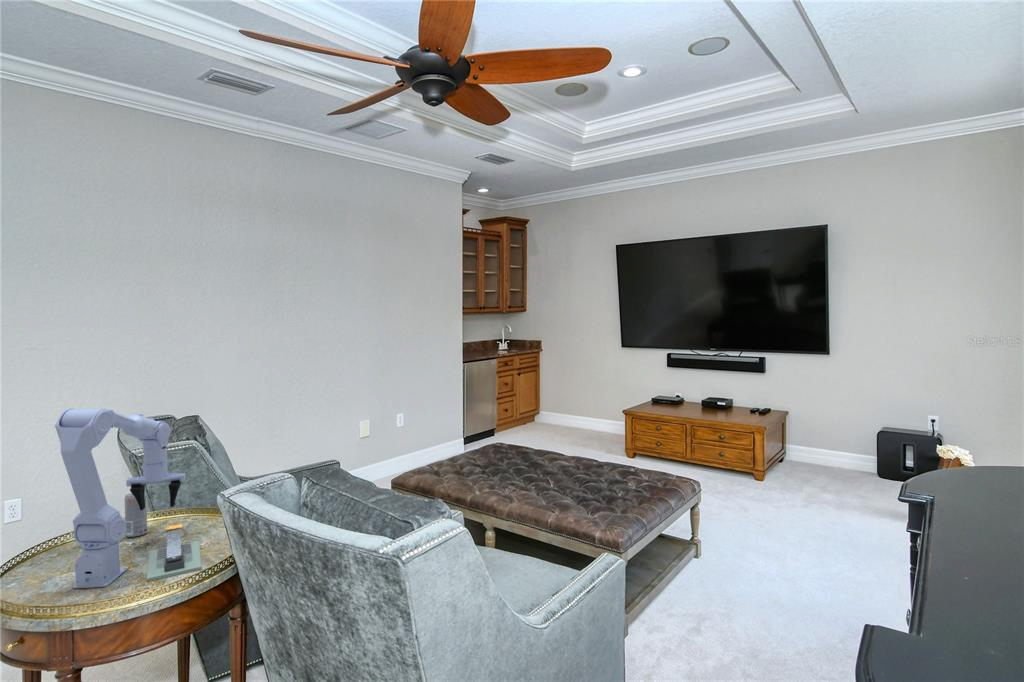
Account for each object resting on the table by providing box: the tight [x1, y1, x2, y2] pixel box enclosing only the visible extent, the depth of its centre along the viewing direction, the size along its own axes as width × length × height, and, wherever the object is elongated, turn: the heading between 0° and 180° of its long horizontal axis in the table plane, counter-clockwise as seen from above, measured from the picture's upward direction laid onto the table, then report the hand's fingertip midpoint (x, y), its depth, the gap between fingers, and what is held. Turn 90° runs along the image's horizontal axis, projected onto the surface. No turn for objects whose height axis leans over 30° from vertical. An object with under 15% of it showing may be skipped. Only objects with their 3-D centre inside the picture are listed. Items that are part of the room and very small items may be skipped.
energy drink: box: [124, 491, 148, 538], centre depth 166 cm, size 5×5×12 cm
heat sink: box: [156, 542, 192, 568], centre depth 149 cm, size 8×8×2 cm
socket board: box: [146, 540, 202, 582], centre depth 149 cm, size 18×12×5 cm, turn 31°
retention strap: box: [164, 523, 183, 563], centre depth 148 cm, size 13×4×1 cm, turn 31°
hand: (157, 507), depth 162 cm, fingers open, 7 cm apart
